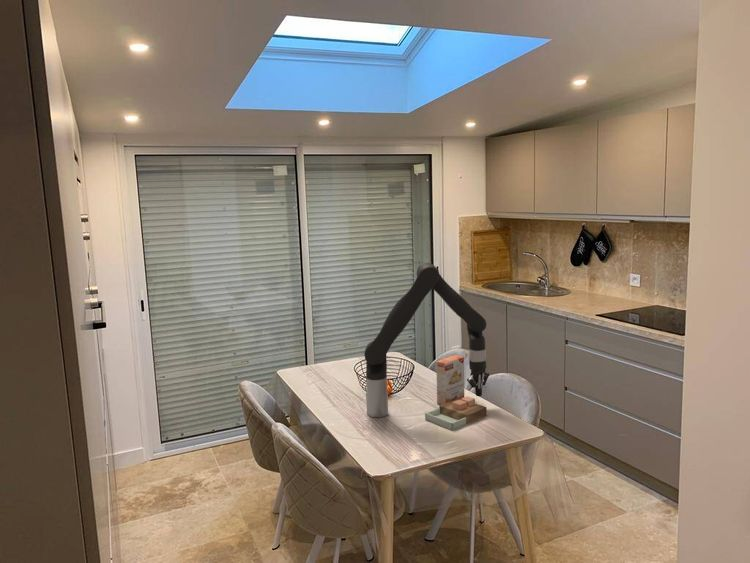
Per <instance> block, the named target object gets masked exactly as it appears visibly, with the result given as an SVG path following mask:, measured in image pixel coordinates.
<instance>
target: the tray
mask: <svg viewBox="0 0 750 563" xmlns="http://www.w3.org/2000/svg"><path fill="white" fill-rule="evenodd" d="M424 419H425V421H427V422H430V423H432V424H435V425H437V426H440V427H442V428H445V429H448V430H450V431H454V430H457V429H459V428H462V427H464V426H466V425H467V424H466V417H465V418H462V419H460V420H456V419H453V418H451V417H448V416H445V415H442V414H440V408H439V407H437V408H434V409H433V410H430V411H427V412H424Z"/></svg>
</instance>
